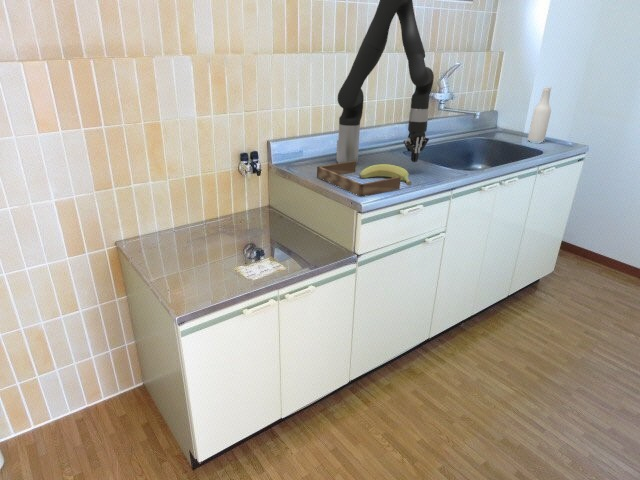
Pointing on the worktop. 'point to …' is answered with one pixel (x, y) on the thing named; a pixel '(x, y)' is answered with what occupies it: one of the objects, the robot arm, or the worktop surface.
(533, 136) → the alcohol
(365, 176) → the banana
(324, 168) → the box
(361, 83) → the robot arm
